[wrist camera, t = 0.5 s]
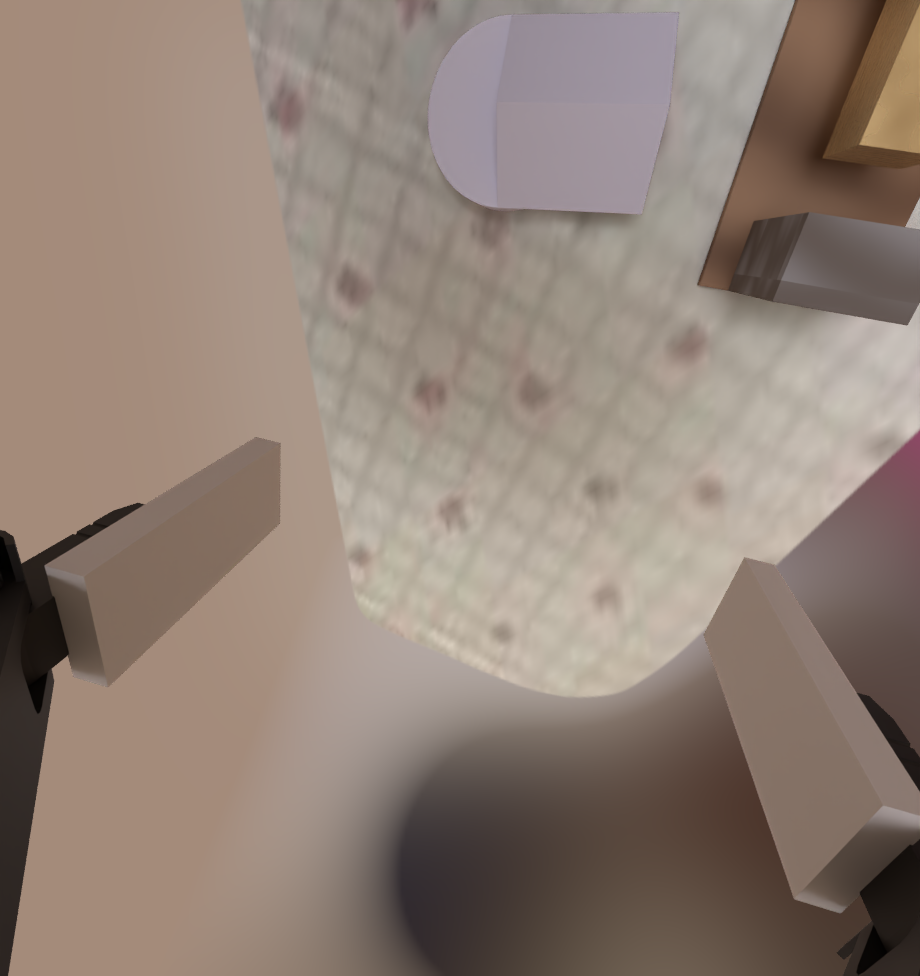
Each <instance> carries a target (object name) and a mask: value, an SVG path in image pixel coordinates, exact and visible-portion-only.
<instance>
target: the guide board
mask: <svg viewBox="0 0 920 976" xmlns="http://www.w3.org/2000/svg"><path fill="white" fill-rule="evenodd" d="M885 3H886V0H795V3H794V6H793V9H792V12H791V15H790V18H789V21H788V24H787V27H786V29H785V32H784V35H783V38H782V41H781V44H780V47H779V50H778V53H777V56H776V58H775V61H774V64H773V67H772V70H771V73H770V76H769V79H768V82H767V85H766V87H765V90H764V93H763V96H762V99H761V102H760V105H759V108H758V111H757V114H756V116H755V119H754V122H753V125H752V128H751V131H750V134H749V137H748V140H747V143H746V145H745V148H744V151H743V154H742V157H741V160H740V163H739V166H738V169H737V172H736V174H735V177H734V180H733V183H732V186H731V189H730V192H729V195H728V198H727V201H726V203H725V206H724V209H723V212H722V215H721V218H720V221H719V224H718V227H717V230H716V232H715V235H714V238H713V241H712V244H711V247H710V250H709V253H708V256H707V259H706V261H705V264H704V267H703V270H702V273H701V276H700V279H699V282H698V285H700V286H706V287H712V288H717V289H723V290H728V291H732V292H736V293H740V294H744V295H748V296H752V297H756V298H761V299H765V300H769V301H773V302H778V303H784V304H789V305H795V306H801V307H806V308H812V309H818V310H823V311H829V312H834V313H840V314H846V315H851V316H857V317H863V318H868V319H874V320H879V321H885V322H891V323H896V324H902V325H908V323H909V321H910V320H911V318H912V316H913V314H914V312H915V310H916V308H917V307H918V305H919V303H920V230H919V229H913V228H907V227H905V226H906V224H907V222H908V220H909V218H910V216H911V214H912V212H913V210H914V208H915V206H916V204H917V202H918V200H919V198H920V164H919V165H915V166H911V167H907V168H903V169H892V168H885V167H878V166H872V165H865V164H858V163H851V162H845V161H838V160H831V159H824V158H823V155H824V153H825V150H826V148H827V145H828V143H829V140H830V138H831V136H832V133H833V131H834V128H835V126H836V123H837V121H838V118H839V116H840V113H841V111H842V108H843V106H844V104H845V101H846V99H847V96H848V94H849V91H850V89H851V86H852V84H853V81H854V79H855V76H856V74H857V72H858V69H859V67H860V64H861V62H862V59H863V57H864V54H865V52H866V49H867V47H868V45H869V42H870V40H871V37H872V35H873V32H874V30H875V27H876V25H877V22H878V20H879V17H880V15H881V13H882V10H883V8H884V5H885Z"/></svg>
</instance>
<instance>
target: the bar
mask: <svg viewBox="0 0 920 976" xmlns="http://www.w3.org/2000/svg"><path fill="white" fill-rule="evenodd" d="M823 158H824V159H831V160H838V161H845V162H851V163H858V164H865V165H872V166H878V167H885V168H892V169H903V168H907V167H911V166H915V165H919V164H920V0H886V3H885V5H884V8H883V10H882V13H881V15H880V17H879V20H878V22H877V25H876V27H875V30H874V32H873V35H872V37H871V40H870V42H869V45H868V47H867V49H866V52H865V54H864V57H863V59H862V62H861V64H860V67H859V69H858V72H857V74H856V76H855V79H854V81H853V84H852V86H851V89H850V91H849V94H848V96H847V99H846V101H845V104H844V106H843V108H842V111H841V113H840V116H839V118H838V121H837V123H836V126H835V128H834V131H833V133H832V136H831V138H830V140H829V143H828V145H827V148H826V150H825V153H824V155H823Z"/></svg>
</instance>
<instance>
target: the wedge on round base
mask: <svg viewBox="0 0 920 976" xmlns="http://www.w3.org/2000/svg"><path fill="white" fill-rule="evenodd" d="M678 18H679V12H663V13H580V14H510V15H500V16H497V17H493V18H490V19H487V20H485V21H483V22H481V23H479V24H477V25H476V26H474V27H473V28H471V29H470V30H468V31H467V32H466V33H465V34H464V35H462V36H461V37H460V38H459V39H458V40H457V41H456V43H455V44H454V45H453V46H452V47H451V49H450V50H449V51H448V53H447V55H446V56H445V58H444V59H443V61H442V63H441V65H440V67H439V69H438V71H437V74H436V76H435V79H434V82H433V85H432V89H431V93H430V98H429V106H428V131H429V138H430V143H431V148H432V151H433V154H434V157H435V160H436V162H437V164H438V166H439V168H440V170H441V171H442V173H443V175H444V176H445V178H446V179H447V180H448V182H449V183H450V184H451V185H452V186H453V187H454V188H455V189H456V190H457V191H458V192H459V193H460V194H462V195H463V196H465V197H466V198H468V199H469V200H471V201H473V202H475V203H477V204H479V205H481V206H483V207H485V208H488V209H492V210H496V211H517V210H522V209H537V210H559V211H580V212H601V213H623V214H642V211H643V207H644V204H645V200H646V196H647V192H648V188H649V184H650V180H651V176H652V173H653V169H654V165H655V161H656V157H657V153H658V149H659V145H660V142H661V138H662V134H663V130H664V126H665V122H666V118H667V114H668V111H669V107H670V100H671V90H672V80H673V70H674V59H675V49H676V39H677V29H678Z"/></svg>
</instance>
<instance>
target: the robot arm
mask: <svg viewBox="0 0 920 976" xmlns="http://www.w3.org/2000/svg"><path fill="white" fill-rule="evenodd" d="M279 524H280V443H278V442H274V441H270V440H265V439H262V438H257V437H255V438H254V439H252V440H250V441H249V442H247V443H245V444H244V445H242V446H241V447H239V448H237V449H236V450H234V451H232V452H231V453H229V454H227V455H226V456H224V457H222V458H221V459H219V460H217V461H216V462H214V463H213V464H211V465H209V466H208V467H206V468H204V469H203V470H201V471H199V472H198V473H196V474H194V475H193V476H191V477H189V478H188V479H186V480H184V481H183V482H181V483H180V484H178V485H176V486H175V487H173V488H171V489H170V490H168V491H166V492H165V493H163V494H161V495H160V496H158V497H157V498H155V499H153V500H152V501H150V502H148V503H147V504H140V503H136V504H133V505H130V506H127V507H123V508H121V509H117V510H114V511H112V512H110V513H108V514H107V515H105V516H103V517H102V518H100V519H98V520H96V521H95V522H94V523H93V525H88V526H86V527H84V528H82V529H81V530H79V531H77V534H76V535H74V534H72V535H70V536H69V537H67V538H65V539H63V540H62V541H60V542H58V543H57V544H55V545H53V546H51V547H50V548H48V549H46V550H45V551H43V552H41V553H39V554H38V555H36V556H35V557H32V558H31V559H29V560H27V561H26V562H24V563H22V564H21V561H20V558H19V554H18V551H17V547H16V544H15V540H14V537H13V536H12V535H10V534H8V533H7V532H6V531H2V530H0V976H8V972H9V966H10V959H11V953H12V947H13V939H14V934H15V928H16V921H17V915H18V909H19V902H20V896H21V889H22V883H23V876H24V870H25V864H26V856H27V851H28V845H29V838H30V832H31V825H32V819H33V813H34V807H35V800H36V794H37V786H38V781H39V774H40V768H41V762H42V755H43V749H44V742H45V736H46V730H47V723H48V717H49V711H50V704H51V698H52V692H53V685H54V679H53V673H52V668H53V667H54V666H55V665H57V664H58V663H59V662H60V661H61V660H63V659H64V658H65V657H66V656H67V655H68V658H69V662H70V665H71V669H72V673H73V677H76V678H79V679H82V680H85V681H89V682H92V683H95V684H99V685H102V686H105V687H109V686H110V685H111V684H112V683H113V682H114V681H115V680H116V679H117V678H118V677H120V676H121V674H123V673H124V672H125V671H126V670H127V669H128V668H129V667H130V666H131V665H132V664H133V663H134V662H135V661H136V660H137V659H138V658H139V657H141V656H142V655H143V654H144V653H145V652H146V651H147V650H148V649H149V648H150V647H151V646H152V645H153V644H154V643H155V642H156V641H157V640H158V639H159V638H160V637H161V636H163V635H164V634H165V633H166V632H167V631H168V630H169V629H170V628H171V627H172V626H173V625H174V624H175V623H176V622H177V621H178V620H179V619H180V618H181V617H182V616H183V615H184V614H186V613H187V612H188V611H189V610H190V609H191V608H192V607H193V606H194V605H195V604H196V603H197V602H198V601H199V600H200V599H201V598H202V597H203V596H204V595H205V594H206V593H208V592H209V591H210V590H211V589H212V588H213V587H214V586H215V585H216V584H217V583H218V582H219V581H220V580H221V579H222V578H223V577H224V576H225V575H226V574H227V573H229V572H230V571H231V570H232V569H233V568H234V567H235V566H236V565H237V564H238V563H239V562H240V561H241V560H242V559H243V558H244V557H245V556H246V555H247V554H248V553H249V552H250V551H252V549H254V548H255V547H256V546H257V545H258V544H259V543H260V542H261V541H262V540H263V539H264V538H265V537H266V536H267V535H268V534H269V533H270V532H271V531H272V530H273V529H275V527H277V526H278V525H279ZM704 638H705V640H706V643H707V646H708V649H709V652H710V655H711V658H712V661H713V664H714V666H715V669H716V673H717V675H718V678H719V681H720V684H721V687H722V690H723V693H724V696H725V699H726V702H727V705H728V708H729V710H730V713H731V716H732V719H733V722H734V725H735V728H736V731H737V734H738V737H739V740H740V742H741V745H742V748H743V751H744V754H745V757H746V760H747V763H748V766H749V769H750V772H751V774H752V777H753V780H754V783H755V786H756V789H757V792H758V795H759V798H760V801H761V804H762V807H763V810H764V812H765V815H766V818H767V821H768V824H769V827H770V830H771V833H772V836H773V838H774V842H775V844H776V847H777V850H778V853H779V856H780V859H781V862H782V865H783V868H784V871H785V873H786V876H787V879H788V882H789V885H790V888H791V891H792V894H793V897H794V899H796V900H799V901H802V902H806V903H809V904H812V905H815V906H819V907H822V908H825V909H828V910H831V911H835V912H838V913H842V912H843V911H844V909H846V908H847V907H848V906H849V905H850V904H851V903H852V902H853V901H854V900H855V899H856V898H857V897H859V896H860V895H861V897H862V899H863V902H864V904H865V906H866V908H867V911H868V913H869V915H870V917H871V919H872V921H871V922H870V923H869V924H868V925H867V926H865V927H864V928H863V929H862V930H861V931H860V932H859V933H858V934H856V935H855V936H854V937H853V938H852V939H851V940H850V941H849V942H847V943H846V944H845V945H844V946H843V947H842V948H841V949H840V950H839V951H838V952H837V954H838V955H840V957H842V958H843V959H845V958H846V957H848V956H849V955H850V954H851V953H852V955H851V957H850V959H849V962H848V964H847V967H846V969H845V972H844V974H843V976H920V757H919V756H918V754H917V753H916V752H915V750H914V749H913V748H910V743H909V741H908V740H907V738H906V737H905V735H904V734H903V732H902V731H901V729H900V728H899V727H898V725H897V724H896V722H895V721H894V719H893V718H892V717H890V715H888V714H887V713H886V712H885V711H884V710H883V709H882V708H881V707H880V706H879V705H878V704H877V703H876V702H875V701H874V700H873V699H872V698H871V697H870V696H867V695H863V694H859V693H856V692H855V690H854V688H853V687H852V685H851V684H850V682H849V681H848V679H847V678H846V676H845V674H844V673H843V671H842V670H841V668H840V667H839V665H838V664H837V662H836V660H835V659H834V657H833V656H832V654H831V653H830V651H829V649H828V648H827V646H826V645H825V643H824V642H823V640H822V639H821V637H820V635H819V634H818V632H817V631H816V629H815V628H814V626H813V624H812V623H811V621H810V620H809V618H808V617H807V615H806V614H805V612H804V610H803V609H802V607H801V606H800V604H799V603H798V601H797V599H796V598H795V596H794V595H793V593H792V592H791V590H790V589H789V587H788V585H787V584H786V582H785V581H784V579H783V578H782V576H781V575H780V573H779V572H778V570H777V568H776V567H775V565H773V564H769V563H765V562H761V561H757V560H753V559H749V558H745V557H744V559H743V561H742V563H741V565H740V567H739V569H738V571H737V573H736V574H735V576H734V578H733V580H732V582H731V584H730V586H729V588H728V590H727V591H726V593H725V595H724V597H723V599H722V601H721V603H720V605H719V607H718V608H717V610H716V612H715V614H714V616H713V618H712V620H711V622H710V624H709V625H708V627H707V629H706V631H705V633H704Z"/></svg>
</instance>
